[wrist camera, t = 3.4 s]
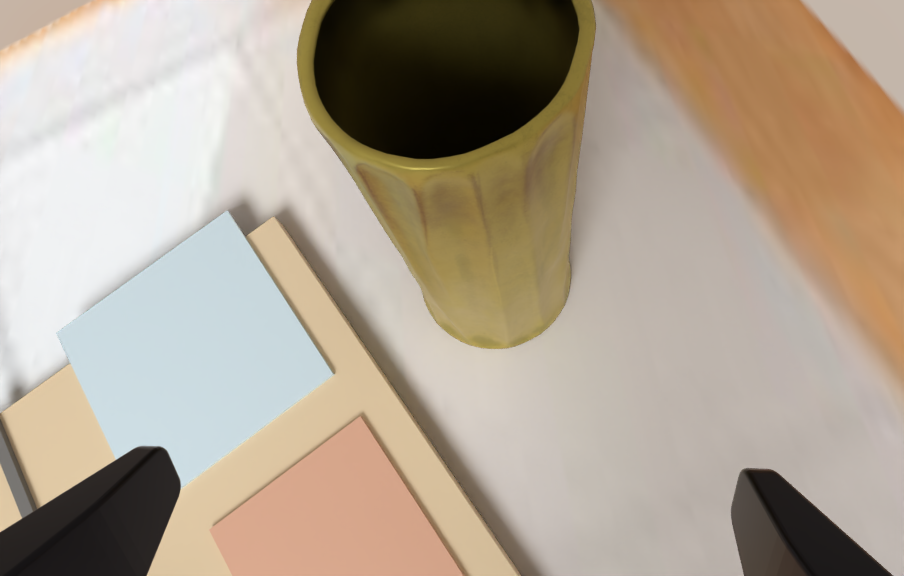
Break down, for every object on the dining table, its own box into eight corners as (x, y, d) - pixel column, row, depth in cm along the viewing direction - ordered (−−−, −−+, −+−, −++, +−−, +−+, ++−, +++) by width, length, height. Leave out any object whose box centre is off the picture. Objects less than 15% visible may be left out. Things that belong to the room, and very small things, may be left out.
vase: (602, 281, 22) (707, 27, 9) (487, 382, 22) (410, 276, 8) (502, 181, 24) (460, -158, 11) (393, 272, 24) (206, 40, 10)
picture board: (567, 643, 19) (569, 653, 18) (79, 1032, 18) (53, 1066, 17) (265, 199, 26) (254, 189, 25) (-107, 467, 25) (-134, 467, 24)
